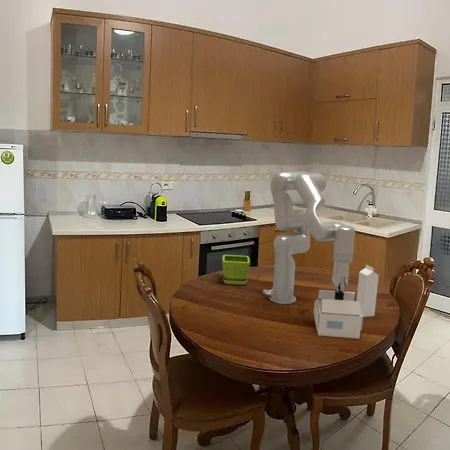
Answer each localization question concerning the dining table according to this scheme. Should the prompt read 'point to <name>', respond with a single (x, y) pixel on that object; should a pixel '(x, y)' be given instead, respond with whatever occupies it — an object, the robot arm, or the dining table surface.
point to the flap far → (331, 295)
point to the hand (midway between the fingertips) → (338, 300)
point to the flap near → (341, 306)
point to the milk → (367, 291)
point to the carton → (337, 323)
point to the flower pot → (230, 269)
